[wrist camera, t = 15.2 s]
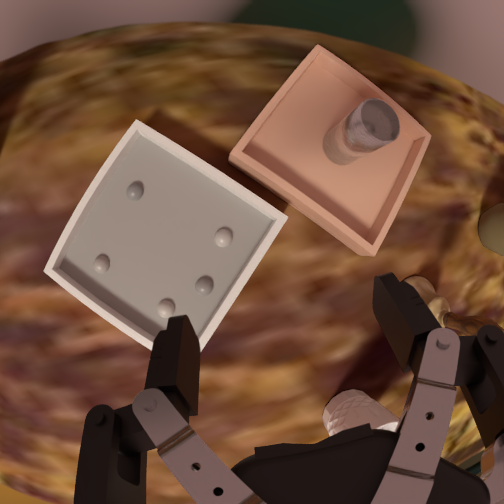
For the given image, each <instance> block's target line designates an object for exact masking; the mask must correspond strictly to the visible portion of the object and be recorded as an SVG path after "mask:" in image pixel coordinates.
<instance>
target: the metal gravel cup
mask: <svg viewBox="0 0 504 504" xmlns="http://www.w3.org/2000/svg"><path fill="white" fill-rule="evenodd" d="M399 133H400V122H399V119H398V116H397V114H396V113H395V111H394V110H393V108H392V107H391V106H390V105H389V104H387V103H386V102H384V101H383V100H380V99H377V98H369V99H366V100H365V101H363V102H362V103H361V104H360V105H359V106H358V107H356V108H355V109H354V110H353V111H352V112H351V113H349V114H348V115H347V116H346V117H345V118H344V119H342V120H341V121H340V122H339V123H338V124H337V125H336V126H334V127H333V128H332V129H331V130H330V131H329V132H328V133H326V135H325V136H324V138H323V143H322V145H323V150H324V153H325V155H326V156H327V158H328V159H329V160H330V161H332V162H333V163H335V164H337V165H342V166H345V165H349V164H351V163H353V162H355V161H356V160H358V159H360V158H362V157H364V156H366V155H368V154H370V153H372V152H374V151H376V150H377V149H379V148H381V147H383V146H385V145H387V144H389V143H391V142H393V141H395V140H396V139H397V137H398V136H399Z"/></svg>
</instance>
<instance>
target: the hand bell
mask: <svg viewBox="0 0 504 504" xmlns="http://www.w3.org/2000/svg"><path fill="white" fill-rule="evenodd" d="M404 281H406V282H407V283H409V284H410V285H412V286H413V287H414V288H415V289H416V290H417V292H418V293H419V295H420V297H422V299H423V300H424V302H425V304H427V306H428V307H429V309H430V310H431V312H432V313H433V315H434V316H435V318H436V319H437V320H438V322H439V323H440V325H441V326H442V328H444V327H445V326H446V327H450V328H453V329H457V330H459V331H461V332H462V333H463V334H464V335H465V336H472V335H477V333H478V331H479V329H480V328H481V327H482V326H485V325H494V326H496V327H498V328H500V329H501V330H502V331H503V333H504V329H503V328H502V327H500V326H499V325H498V324H497V323H496V322H494V321H493V320H491V319H489V318H487V317H483V316H468V317H464V316H460V315H457V314H455V313H452V312H450V306H449V304H448V302H447V300H446V299H445V298H443V297H441V296H439V295H437V294H436V293H435V290H434V288H433V286H432V284H431V283H430V282H429V281H428V280H427V279H425V278H424V277H421V276H413V277H409V278H407V279H405V280H404Z"/></svg>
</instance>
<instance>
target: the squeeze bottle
mask: <svg viewBox="0 0 504 504" xmlns="http://www.w3.org/2000/svg"><path fill="white" fill-rule="evenodd" d="M478 230H479V237H480V240H481V243H482V244H483V246H484V247H486V248H488V249H490V250H492V251H494V252H496V253H498V254H499V255H501V256H504V203H498V204H496V205H495V206H493V207H492V208H490V209H488V210H487V211H485V212H484V213H483V214H482V215H481V217H480V220H479V226H478Z"/></svg>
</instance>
